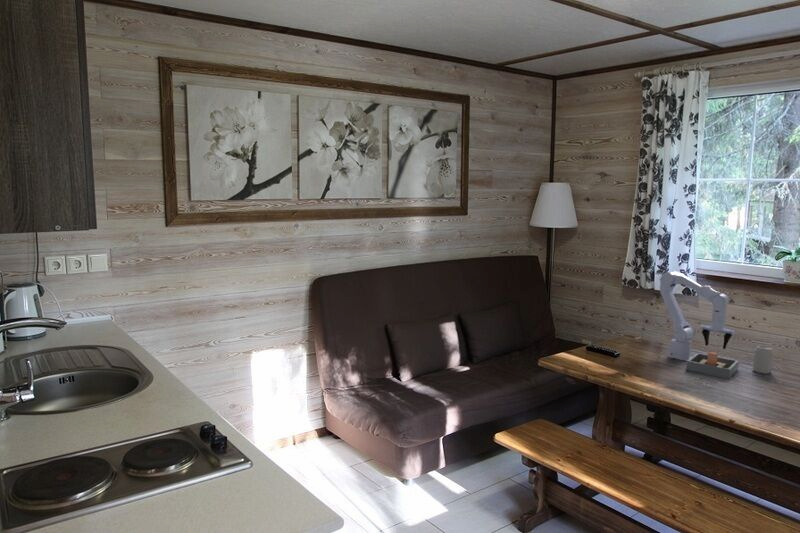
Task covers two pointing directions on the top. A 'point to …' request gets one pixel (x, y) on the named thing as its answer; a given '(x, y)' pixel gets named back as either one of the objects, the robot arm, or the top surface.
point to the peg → (712, 358)
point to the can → (763, 359)
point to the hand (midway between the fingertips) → (715, 346)
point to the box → (722, 369)
